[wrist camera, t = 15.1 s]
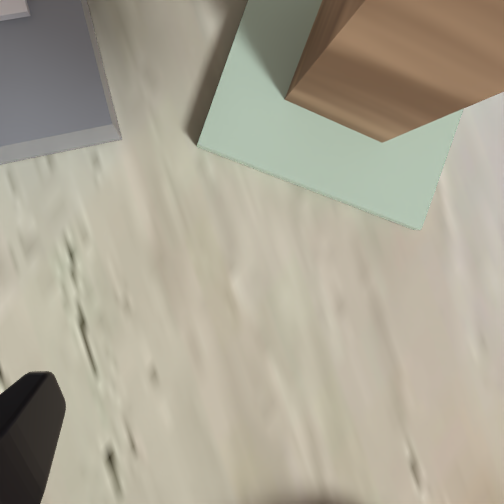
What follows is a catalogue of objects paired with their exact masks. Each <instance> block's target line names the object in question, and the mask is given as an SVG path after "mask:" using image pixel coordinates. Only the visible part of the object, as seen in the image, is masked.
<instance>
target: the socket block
mask: <svg viewBox="0 0 504 504" xmlns="http://www.w3.org/2000/svg"><path fill="white" fill-rule="evenodd" d="M117 140H122V137H121V133H120V129H119V125H118V121H117V117H116V113H115V109H114V105H113V101H112V97H111V93H110V89H109V86H108V82H107V78H106V74H105V70H104V66H103V62H102V58H101V54H100V50H99V46H98V42H97V38H96V34H95V30H94V26H93V22H92V19H91V15H90V11H89V7H88V3H87V0H0V165H1V164H5V163H10V162H15V161H20V160H25V159H30V158H35V157H39V156H44V155H49V154H54V153H59V152H64V151H69V150H73V149H78V148H83V147H88V146H93V145H98V144H102V143H107V142H112V141H117Z"/></svg>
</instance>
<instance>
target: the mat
mask: <svg viewBox="0 0 504 504" xmlns="http://www.w3.org/2000/svg"><path fill="white" fill-rule="evenodd" d="M321 3H322V0H248V2H247V5H246V8H245V11H244V13H243V16H242V19H241V22H240V25H239V28H238V30H237V33H236V36H235V39H234V42H233V45H232V47H231V50H230V53H229V56H228V59H227V62H226V64H225V67H224V70H223V73H222V76H221V79H220V81H219V84H218V87H217V90H216V93H215V96H214V98H213V101H212V104H211V107H210V110H209V113H208V115H207V118H206V121H205V124H204V127H203V130H202V132H201V135H200V138H199V141H198V144H197V147H199V148H201V149H204V150H206V151H209V152H212V153H214V154H217V155H220V156H222V157H225V158H227V159H230V160H233V161H235V162H238V163H240V164H243V165H246V166H248V167H251V168H253V169H256V170H259V171H261V172H264V173H266V174H269V175H272V176H274V177H277V178H280V179H282V180H285V181H287V182H290V183H293V184H295V185H298V186H300V187H303V188H306V189H308V190H311V191H313V192H316V193H319V194H321V195H324V196H326V197H329V198H332V199H334V200H337V201H340V202H342V203H345V204H347V205H350V206H353V207H355V208H358V209H360V210H363V211H366V212H368V213H371V214H373V215H376V216H379V217H381V218H384V219H386V220H389V221H392V222H394V223H397V224H400V225H402V226H405V227H407V228H410V229H413V230H421V229H422V226H423V223H424V220H425V218H426V215H427V212H428V209H429V206H430V203H431V201H432V198H433V195H434V192H435V189H436V186H437V183H438V181H439V178H440V175H441V172H442V169H443V166H444V164H445V161H446V158H447V155H448V152H449V149H450V146H451V144H452V141H453V138H454V135H455V132H456V129H457V126H458V124H459V121H460V118H461V115H462V112H463V109H464V108H463V109H461V110H459V111H456V112H454V113H452V114H449V115H447V116H445V117H442V118H440V119H437V120H435V121H433V122H430V123H428V124H426V125H423V126H421V127H418V128H416V129H414V130H411V131H409V132H407V133H404V134H402V135H400V136H397V137H395V138H392V139H390V140H388V141H385V142H383V143H381V142H379V141H377V140H375V139H372V138H370V137H368V136H366V135H363V134H361V133H359V132H356V131H354V130H352V129H350V128H347V127H345V126H343V125H341V124H338V123H336V122H334V121H332V120H329V119H327V118H325V117H323V116H320V115H318V114H316V113H314V112H311V111H309V110H307V109H305V108H302V107H300V106H298V105H296V104H293V103H291V102H289V101H287V100H284V99H285V97H286V94H287V92H288V89H289V86H290V84H291V81H292V78H293V76H294V73H295V71H296V68H297V65H298V63H299V60H300V58H301V55H302V52H303V50H304V47H305V44H306V42H307V39H308V37H309V34H310V31H311V29H312V26H313V23H314V21H315V18H316V16H317V13H318V10H319V8H320V5H321Z"/></svg>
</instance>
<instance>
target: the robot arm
mask: <svg viewBox="0 0 504 504" xmlns="http://www.w3.org/2000/svg"><path fill="white" fill-rule="evenodd" d="M65 410H66V404H65V399H64V397H63V394H62V392H61V390H60V387H59V385H58V383H57V380H56V378H55V376H54V374H52V373H51V372H48V371H35V372H29V373H27V374H25V375H24V376H23V377H21V378H20V379H19V380H18V381H16V382H15V383H14V384H13V385H11V386H10V387H9V388H8V389H6V390H5V391H4V392H3V393H1V394H0V504H40V503H41V500H42V497H43V494H44V491H45V487H46V484H47V481H48V477H49V473H50V469H51V465H52V461H53V458H54V454H55V450H56V446H57V442H58V438H59V435H60V431H61V427H62V423H63V419H64V415H65Z"/></svg>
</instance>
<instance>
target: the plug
mask: <svg viewBox="0 0 504 504" xmlns="http://www.w3.org/2000/svg"><path fill="white" fill-rule="evenodd" d="M501 92H504V0H322V3H321V5H320V8H319V10H318V13H317V16H316V18H315V21H314V23H313V26H312V29H311V31H310V34H309V37H308V39H307V42H306V44H305V47H304V50H303V52H302V55H301V58H300V60H299V63H298V65H297V68H296V71H295V73H294V76H293V78H292V81H291V84H290V86H289V89H288V92H287V94H286V97H285V99H284V100H287V101H289V102H291V103H293V104H296V105H298V106H300V107H302V108H305V109H307V110H309V111H311V112H314V113H316V114H318V115H320V116H323V117H325V118H327V119H329V120H332V121H334V122H336V123H338V124H341V125H343V126H345V127H347V128H350V129H352V130H354V131H356V132H359V133H361V134H363V135H366V136H368V137H370V138H372V139H375V140H377V141H379V142H381V143H383V142H385V141H388V140H390V139H392V138H395V137H397V136H400V135H402V134H404V133H407V132H409V131H411V130H414V129H416V128H418V127H421V126H423V125H426V124H428V123H430V122H433V121H435V120H437V119H440V118H442V117H445V116H447V115H449V114H452V113H454V112H456V111H459V110H461V109H463V108H466V107H468V106H471V105H473V104H475V103H478V102H480V101H482V100H485V99H487V98H489V97H492V96H494V95H497V94H499V93H501Z"/></svg>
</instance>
